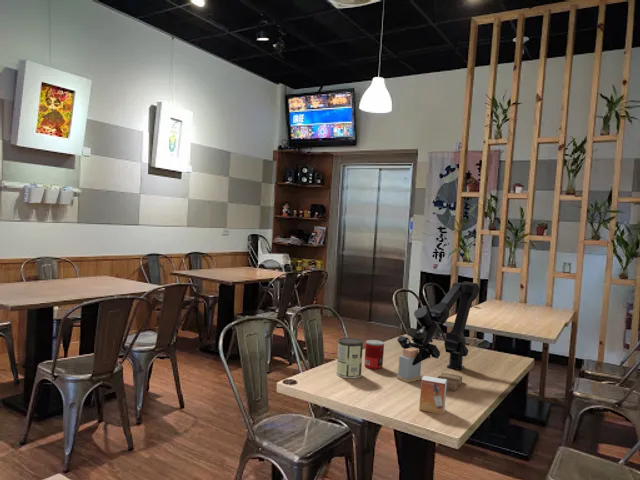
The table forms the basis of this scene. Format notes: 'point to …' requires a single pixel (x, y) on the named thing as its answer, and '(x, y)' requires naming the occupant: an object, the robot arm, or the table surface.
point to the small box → (433, 395)
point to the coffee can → (349, 357)
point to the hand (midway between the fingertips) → (407, 363)
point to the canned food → (374, 354)
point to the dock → (451, 380)
